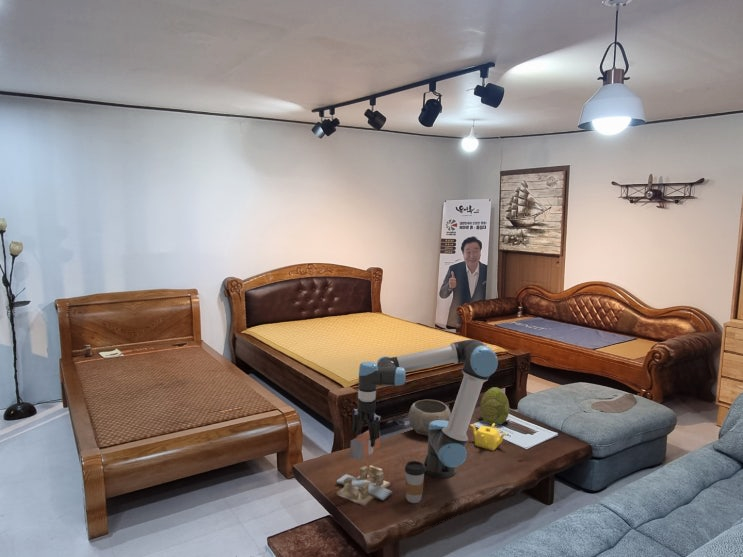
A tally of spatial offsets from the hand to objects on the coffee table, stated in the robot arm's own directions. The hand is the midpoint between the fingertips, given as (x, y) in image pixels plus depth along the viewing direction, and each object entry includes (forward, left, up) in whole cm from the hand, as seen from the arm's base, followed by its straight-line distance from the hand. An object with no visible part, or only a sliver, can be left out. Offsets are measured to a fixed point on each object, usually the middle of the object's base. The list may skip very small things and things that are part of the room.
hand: (364, 451), depth 220 cm
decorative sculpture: (-20, -104, -17) cm, 108 cm away
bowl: (+4, -69, -17) cm, 72 cm away
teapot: (-28, -72, -17) cm, 80 cm away
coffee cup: (-21, -5, -17) cm, 28 cm away
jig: (0, +1, -17) cm, 17 cm away
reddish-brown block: (0, 0, 0) cm, 0 cm away
